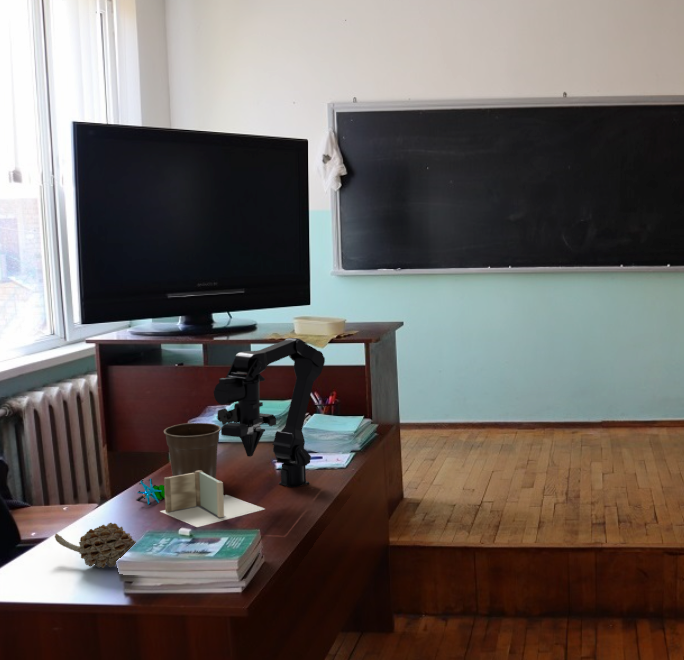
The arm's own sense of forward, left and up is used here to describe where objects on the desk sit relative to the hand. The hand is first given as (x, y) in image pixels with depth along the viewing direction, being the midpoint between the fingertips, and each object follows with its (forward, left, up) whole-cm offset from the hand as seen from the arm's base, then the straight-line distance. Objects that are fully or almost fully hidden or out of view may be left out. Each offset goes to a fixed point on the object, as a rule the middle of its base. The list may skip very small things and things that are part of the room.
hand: (249, 456), depth 262 cm
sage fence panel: (+15, +3, -11) cm, 19 cm away
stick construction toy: (+20, -18, -12) cm, 30 cm away
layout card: (+14, +2, -12) cm, 18 cm away
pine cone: (+55, +16, -12) cm, 58 cm away
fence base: (+18, -5, -11) cm, 22 cm away
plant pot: (+3, -24, -12) cm, 27 cm away
